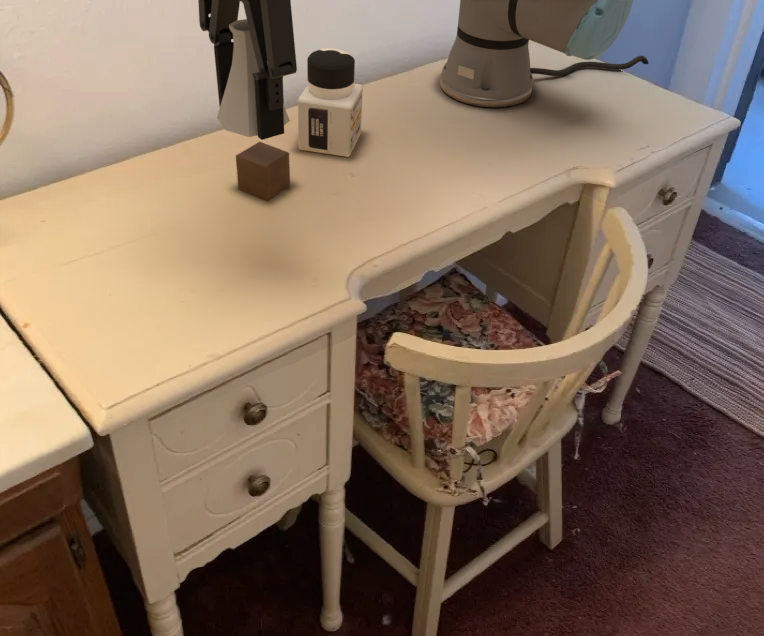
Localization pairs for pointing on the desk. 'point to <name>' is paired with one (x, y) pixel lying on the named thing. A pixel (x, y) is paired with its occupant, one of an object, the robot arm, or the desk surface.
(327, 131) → the container
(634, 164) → the desk surface
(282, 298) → the desk surface
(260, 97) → the robot arm
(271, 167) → the walnut block
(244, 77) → the flask
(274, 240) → the desk surface
